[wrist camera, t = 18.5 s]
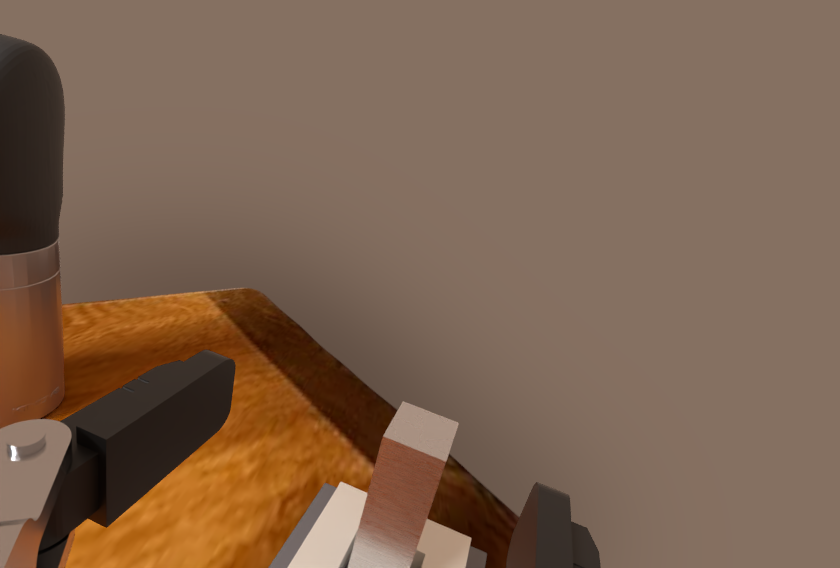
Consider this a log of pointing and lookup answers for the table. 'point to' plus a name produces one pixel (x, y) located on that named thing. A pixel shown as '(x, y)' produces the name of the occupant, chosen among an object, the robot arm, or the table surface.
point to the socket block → (337, 528)
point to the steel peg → (402, 488)
